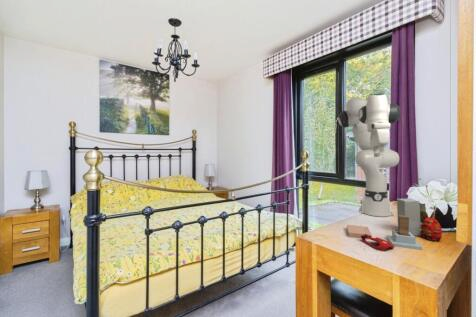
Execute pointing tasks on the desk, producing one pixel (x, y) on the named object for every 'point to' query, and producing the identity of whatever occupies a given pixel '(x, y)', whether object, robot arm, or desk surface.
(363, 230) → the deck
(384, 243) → the tracker holder
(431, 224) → the red clay folk toy
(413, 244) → the grey square socket base
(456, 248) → the desk surface
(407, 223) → the post
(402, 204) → the skincare box
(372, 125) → the robot arm
